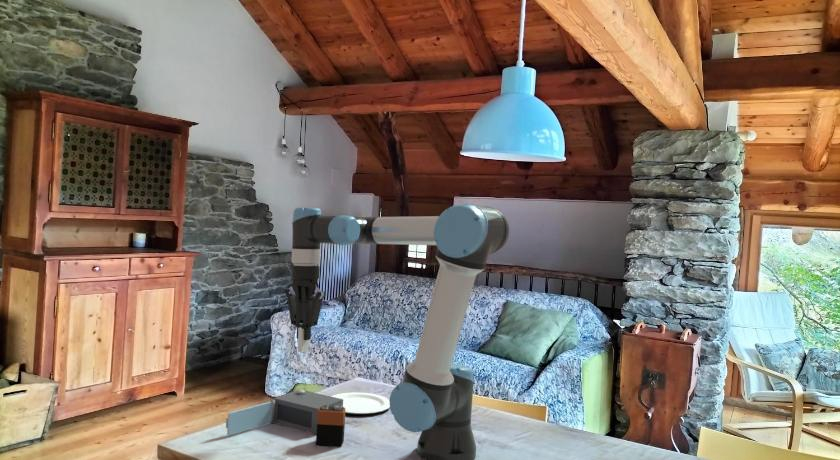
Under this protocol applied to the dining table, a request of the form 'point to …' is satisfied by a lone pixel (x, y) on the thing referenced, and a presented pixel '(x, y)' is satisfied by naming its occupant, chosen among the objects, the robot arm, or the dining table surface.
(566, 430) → the dining table surface
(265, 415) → the door
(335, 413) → the battery
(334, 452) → the dining table surface
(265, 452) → the dining table surface
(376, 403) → the plate
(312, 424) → the camera body
